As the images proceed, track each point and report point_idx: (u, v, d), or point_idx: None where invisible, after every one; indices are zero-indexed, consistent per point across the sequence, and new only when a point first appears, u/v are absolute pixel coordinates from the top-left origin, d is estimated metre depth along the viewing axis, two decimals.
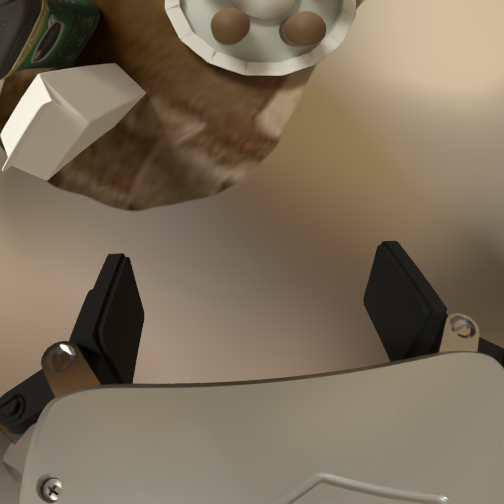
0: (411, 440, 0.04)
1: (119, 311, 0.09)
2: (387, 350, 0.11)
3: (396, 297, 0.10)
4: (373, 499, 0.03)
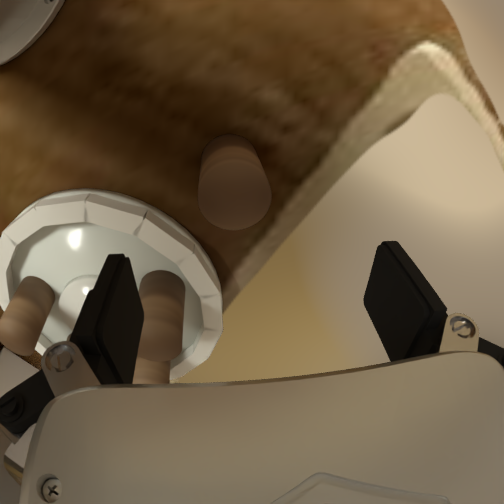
0: (411, 440, 0.04)
1: (119, 311, 0.09)
2: (387, 350, 0.11)
3: (396, 297, 0.10)
4: (373, 499, 0.03)
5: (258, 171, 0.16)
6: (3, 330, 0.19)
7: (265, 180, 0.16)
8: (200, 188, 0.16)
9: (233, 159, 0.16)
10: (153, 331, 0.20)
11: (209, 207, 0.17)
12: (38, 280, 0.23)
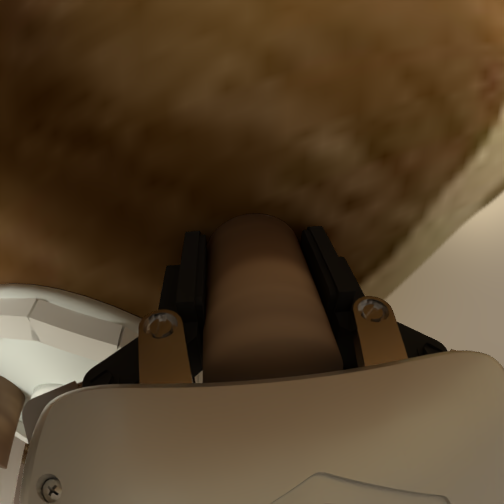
0: (411, 440, 0.04)
1: (204, 283, 0.10)
2: None
3: None
4: (373, 499, 0.03)
5: (326, 344, 0.07)
6: None
7: (336, 355, 0.08)
8: (207, 373, 0.08)
9: (275, 317, 0.08)
10: None
11: None
12: (0, 380, 0.15)
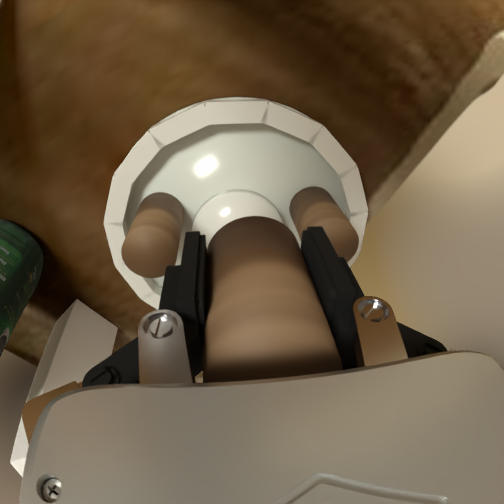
0: (411, 440, 0.04)
1: (205, 283, 0.10)
2: None
3: (313, 280, 0.11)
4: (373, 499, 0.03)
5: (325, 347, 0.07)
6: (138, 240, 0.20)
7: (336, 358, 0.08)
8: (208, 375, 0.08)
9: (274, 320, 0.08)
10: (339, 227, 0.21)
11: None
12: (170, 196, 0.24)
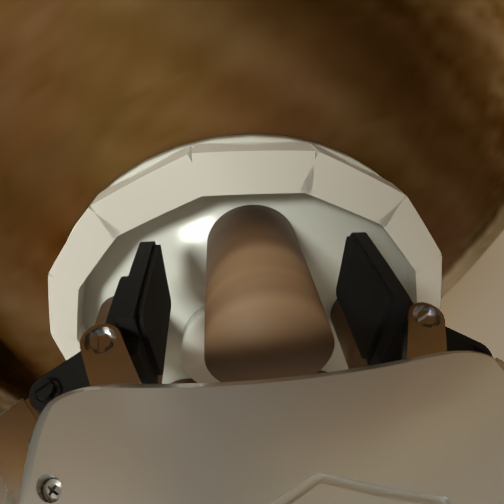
0: (411, 440, 0.04)
1: (154, 295, 0.10)
2: (356, 340, 0.11)
3: (362, 287, 0.10)
4: (373, 499, 0.03)
5: (317, 319, 0.08)
6: None
7: (327, 331, 0.09)
8: (208, 346, 0.08)
9: (270, 294, 0.08)
10: None
11: (225, 369, 0.09)
12: None
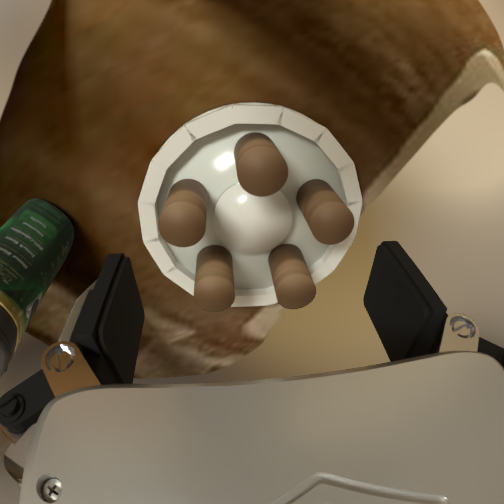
0: (411, 440, 0.04)
1: (119, 311, 0.09)
2: (387, 350, 0.11)
3: (396, 297, 0.10)
4: (373, 499, 0.03)
5: (280, 155, 0.23)
6: (174, 213, 0.25)
7: (284, 161, 0.23)
8: (239, 164, 0.23)
9: (263, 146, 0.23)
10: (338, 209, 0.26)
11: (244, 178, 0.24)
12: (197, 182, 0.29)
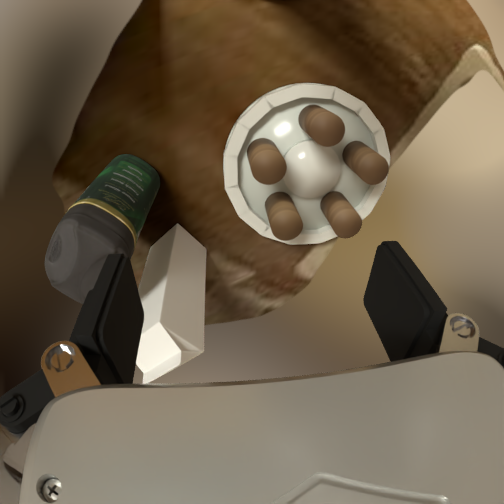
0: (411, 440, 0.04)
1: (119, 311, 0.09)
2: (387, 350, 0.11)
3: (396, 297, 0.10)
4: (373, 499, 0.03)
5: None
6: (264, 157, 0.33)
7: (342, 122, 0.31)
8: (313, 123, 0.31)
9: (327, 111, 0.31)
10: (378, 158, 0.34)
11: (316, 133, 0.32)
12: None
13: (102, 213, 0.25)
